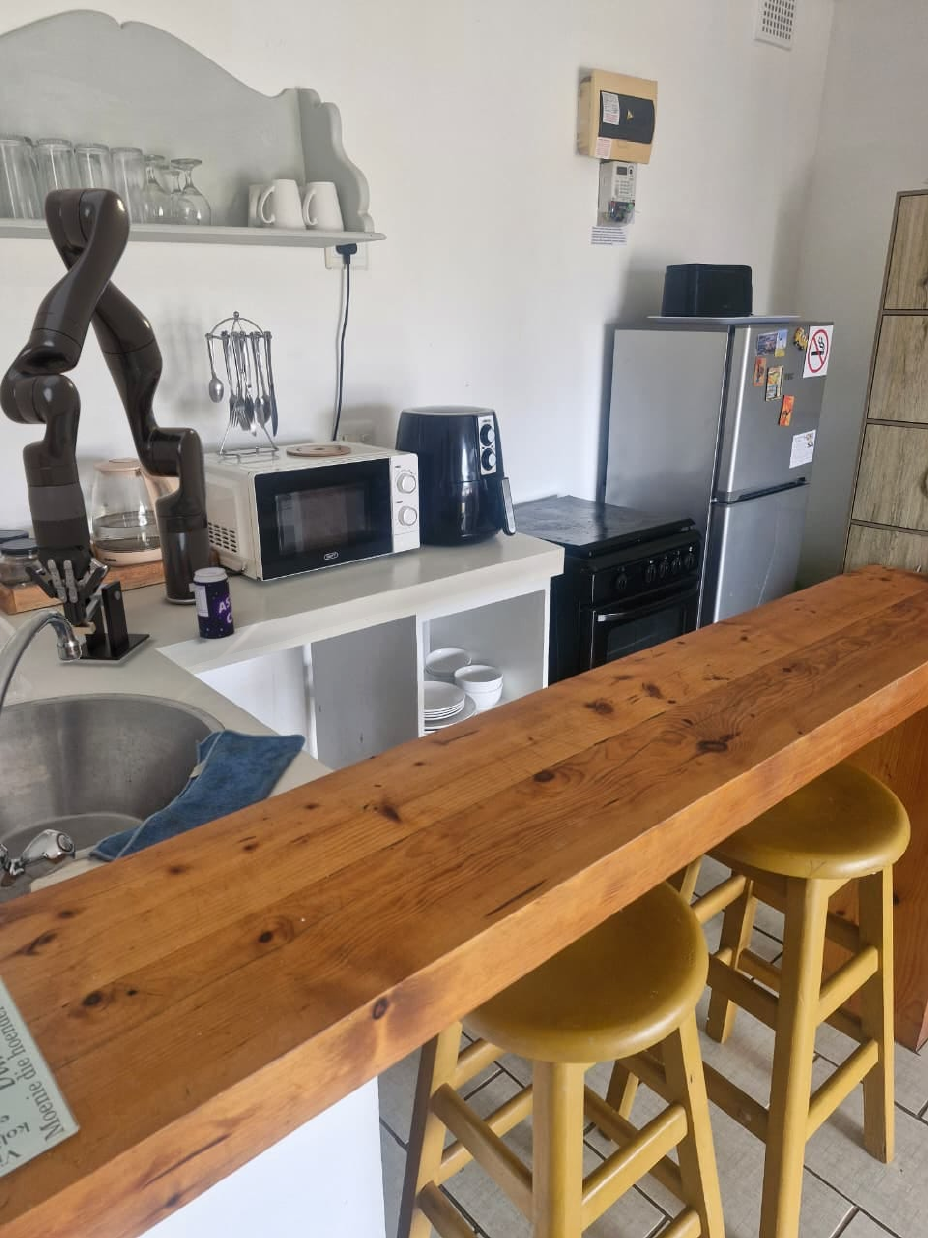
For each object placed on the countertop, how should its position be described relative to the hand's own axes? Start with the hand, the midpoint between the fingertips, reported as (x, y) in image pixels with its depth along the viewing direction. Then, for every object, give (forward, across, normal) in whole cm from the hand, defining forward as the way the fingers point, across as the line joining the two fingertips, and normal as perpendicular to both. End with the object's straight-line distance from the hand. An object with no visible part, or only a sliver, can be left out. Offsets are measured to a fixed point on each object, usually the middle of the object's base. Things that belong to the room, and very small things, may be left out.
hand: (76, 623), depth 134 cm
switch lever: (0, 0, -5) cm, 5 cm away
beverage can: (+8, -16, -16) cm, 24 cm away
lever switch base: (+8, 0, -8) cm, 11 cm away
